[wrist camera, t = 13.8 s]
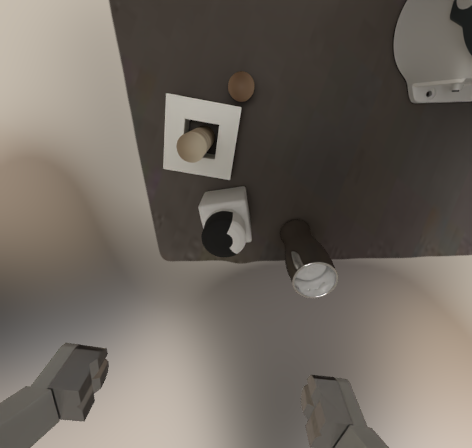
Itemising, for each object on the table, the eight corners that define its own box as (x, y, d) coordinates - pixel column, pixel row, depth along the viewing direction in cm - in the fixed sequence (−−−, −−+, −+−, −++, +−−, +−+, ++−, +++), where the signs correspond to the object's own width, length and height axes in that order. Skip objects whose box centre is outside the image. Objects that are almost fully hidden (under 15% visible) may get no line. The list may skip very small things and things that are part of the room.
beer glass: (307, 211, 47) (333, 254, 33) (316, 240, 49) (344, 291, 36) (272, 224, 48) (284, 270, 35) (284, 252, 51) (299, 305, 37)
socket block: (241, 107, 39) (241, 107, 35) (230, 174, 44) (229, 180, 40) (173, 94, 39) (166, 93, 35) (169, 163, 43) (163, 168, 40)
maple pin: (216, 127, 41) (206, 135, 30) (213, 149, 42) (203, 164, 31) (194, 123, 40) (177, 130, 30) (192, 146, 42) (175, 160, 31)
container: (212, 227, 49) (202, 266, 37) (204, 191, 45) (191, 220, 34) (250, 222, 48) (253, 260, 36) (245, 185, 45) (246, 213, 33)
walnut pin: (254, 78, 37) (256, 74, 33) (250, 103, 39) (251, 103, 34) (231, 73, 37) (230, 69, 33) (228, 99, 39) (226, 98, 34)
